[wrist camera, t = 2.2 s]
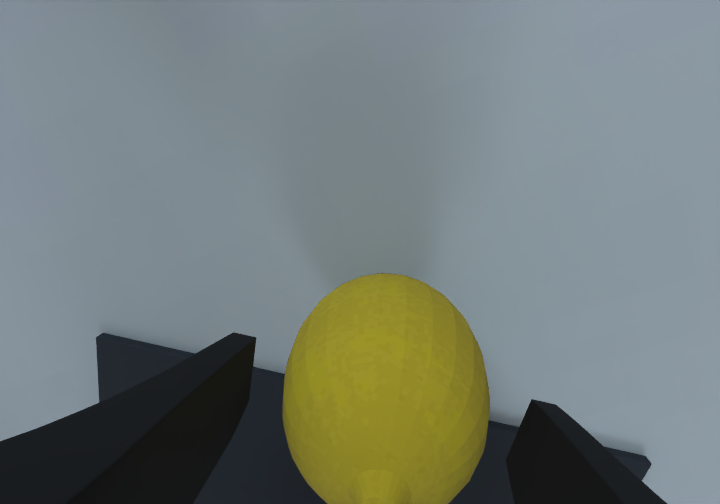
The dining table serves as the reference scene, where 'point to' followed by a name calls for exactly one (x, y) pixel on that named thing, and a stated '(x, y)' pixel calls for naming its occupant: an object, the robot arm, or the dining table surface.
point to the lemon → (386, 395)
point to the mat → (269, 443)
